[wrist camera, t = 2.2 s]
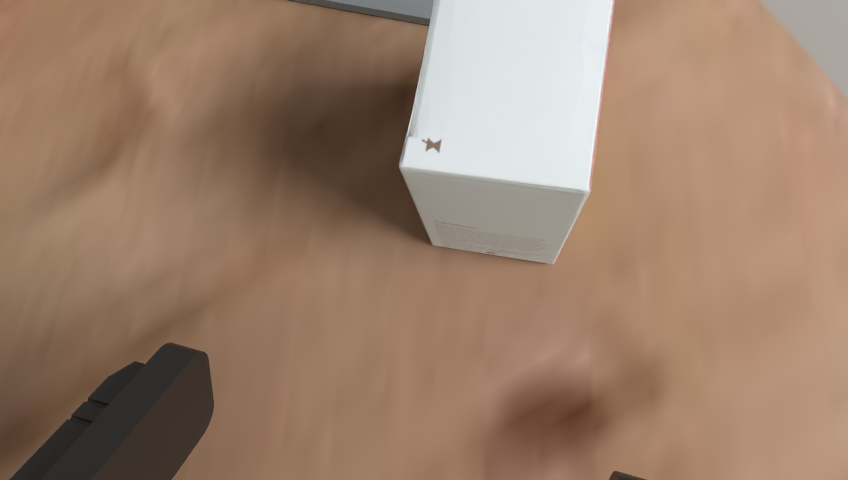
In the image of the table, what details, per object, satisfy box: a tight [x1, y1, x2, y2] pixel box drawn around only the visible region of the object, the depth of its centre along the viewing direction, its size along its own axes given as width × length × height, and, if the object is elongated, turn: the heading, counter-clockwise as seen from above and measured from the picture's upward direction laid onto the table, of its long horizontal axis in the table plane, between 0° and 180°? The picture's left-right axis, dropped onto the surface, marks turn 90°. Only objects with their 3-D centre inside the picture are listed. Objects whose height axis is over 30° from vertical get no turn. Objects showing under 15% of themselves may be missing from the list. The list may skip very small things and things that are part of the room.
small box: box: [399, 0, 615, 264], centre depth 23 cm, size 8×6×10 cm
